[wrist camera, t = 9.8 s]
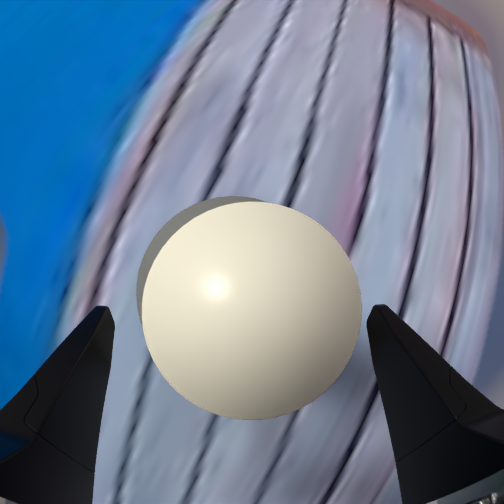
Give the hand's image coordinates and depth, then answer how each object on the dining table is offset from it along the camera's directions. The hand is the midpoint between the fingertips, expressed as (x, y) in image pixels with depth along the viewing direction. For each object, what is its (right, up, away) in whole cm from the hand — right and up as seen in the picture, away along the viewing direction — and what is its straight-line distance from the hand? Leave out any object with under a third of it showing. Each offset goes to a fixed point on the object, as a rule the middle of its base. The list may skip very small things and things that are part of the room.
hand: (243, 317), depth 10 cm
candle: (-1, -1, +9) cm, 9 cm away
